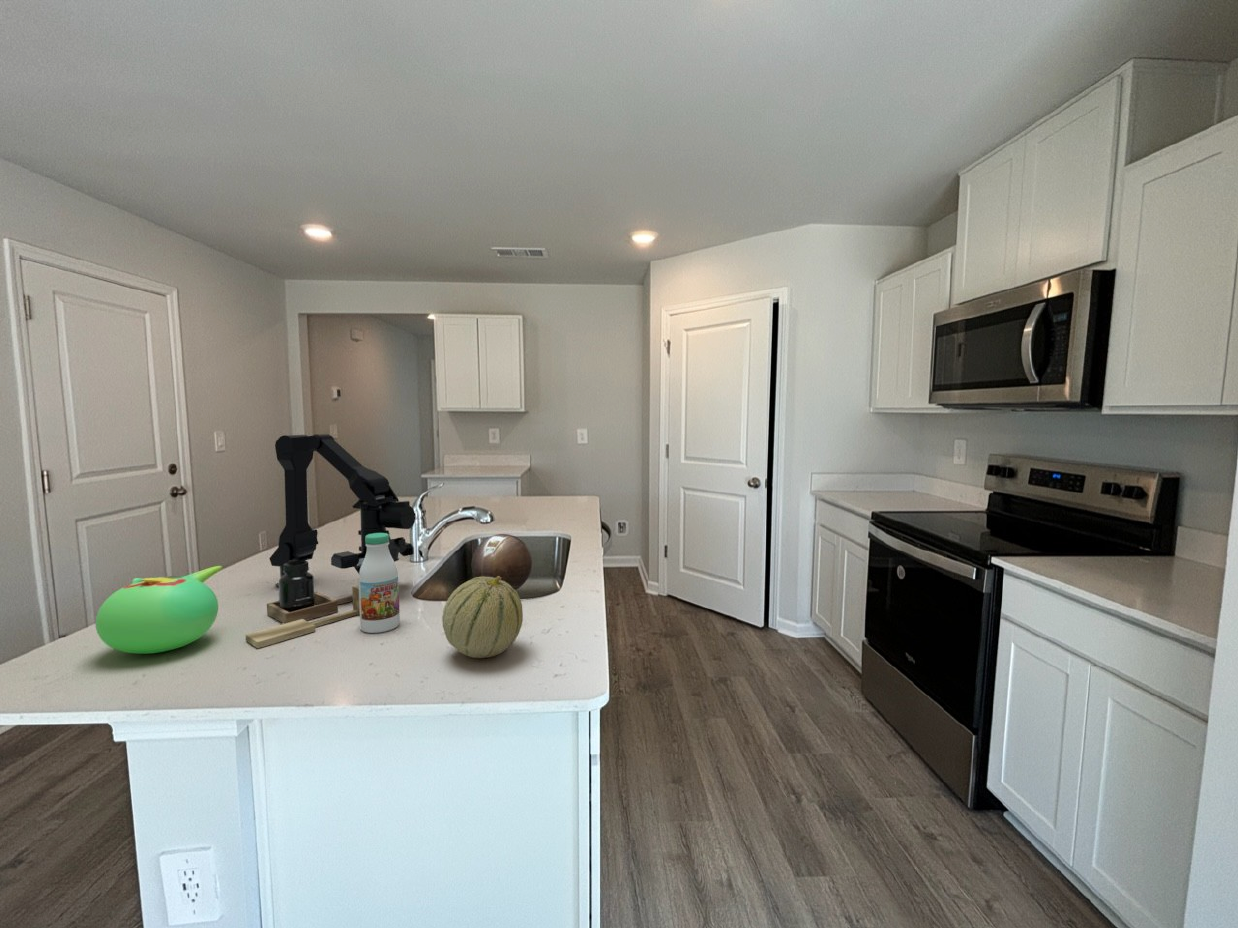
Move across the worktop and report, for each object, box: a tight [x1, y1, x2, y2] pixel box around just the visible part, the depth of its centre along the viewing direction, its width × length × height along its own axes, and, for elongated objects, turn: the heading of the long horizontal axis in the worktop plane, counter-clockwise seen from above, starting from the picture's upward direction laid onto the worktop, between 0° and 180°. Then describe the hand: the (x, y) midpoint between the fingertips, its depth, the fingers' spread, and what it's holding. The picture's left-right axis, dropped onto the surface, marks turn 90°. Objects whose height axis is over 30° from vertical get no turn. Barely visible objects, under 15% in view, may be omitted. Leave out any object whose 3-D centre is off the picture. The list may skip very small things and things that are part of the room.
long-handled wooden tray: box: [244, 584, 360, 649], centre depth 115 cm, size 6×24×6 cm, turn 143°
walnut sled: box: [266, 591, 353, 624], centre depth 128 cm, size 11×24×6 cm, turn 143°
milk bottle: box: [358, 533, 401, 634], centre depth 115 cm, size 8×8×20 cm
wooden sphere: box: [471, 533, 533, 591], centre depth 138 cm, size 15×15×15 cm
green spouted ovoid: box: [95, 565, 223, 655], centre depth 104 cm, size 18×17×15 cm
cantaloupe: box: [441, 576, 524, 659], centre depth 102 cm, size 15×15×15 cm
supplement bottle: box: [278, 560, 316, 612], centre depth 122 cm, size 7×7×12 cm
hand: (375, 587), depth 136 cm, fingers open, 3 cm apart
